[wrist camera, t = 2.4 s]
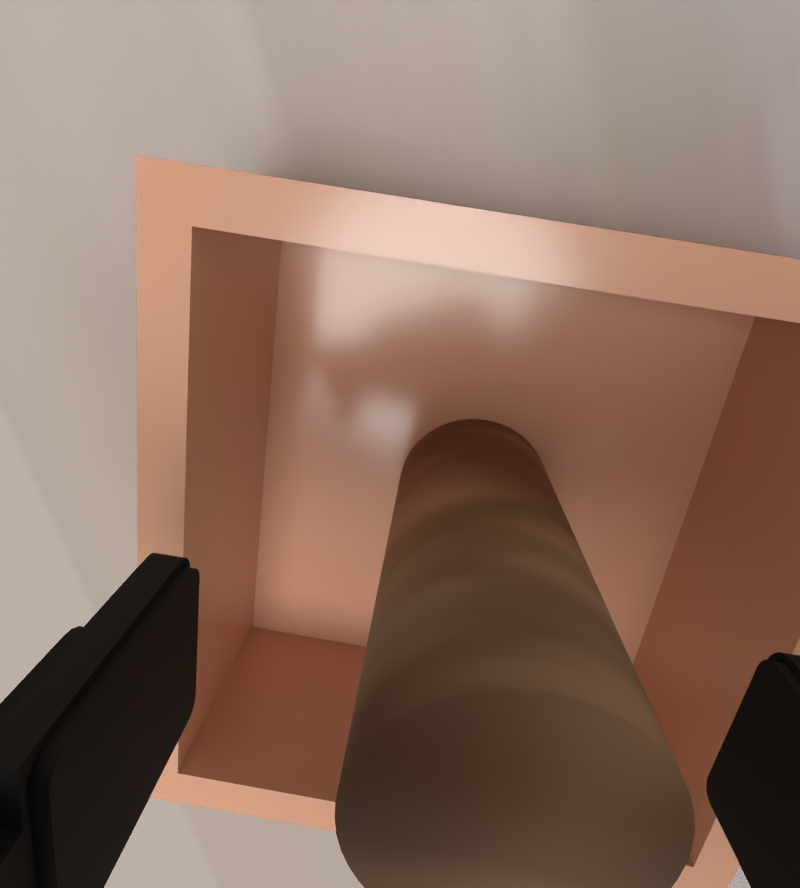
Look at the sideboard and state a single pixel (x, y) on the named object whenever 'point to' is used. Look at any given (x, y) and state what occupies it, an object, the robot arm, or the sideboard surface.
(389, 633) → the walnut dowel
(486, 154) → the sideboard surface
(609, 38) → the sideboard surface
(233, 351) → the terracotta open box
